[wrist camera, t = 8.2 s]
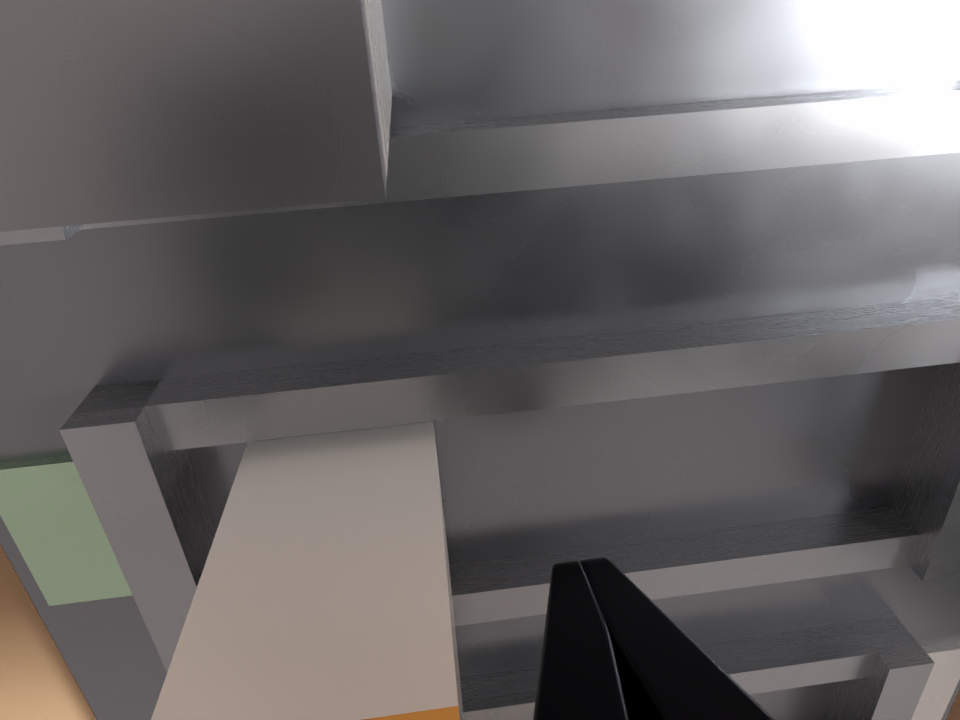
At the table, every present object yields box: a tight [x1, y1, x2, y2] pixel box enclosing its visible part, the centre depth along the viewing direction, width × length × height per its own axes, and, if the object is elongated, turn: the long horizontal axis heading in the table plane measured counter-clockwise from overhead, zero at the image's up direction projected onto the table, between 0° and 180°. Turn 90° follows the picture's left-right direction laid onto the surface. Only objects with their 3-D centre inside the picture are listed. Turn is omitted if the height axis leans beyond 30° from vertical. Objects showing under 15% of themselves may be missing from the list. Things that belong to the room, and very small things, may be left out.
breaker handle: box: [151, 422, 464, 720], centre depth 9 cm, size 3×3×5 cm
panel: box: [0, 0, 960, 720], centre depth 10 cm, size 20×21×6 cm
